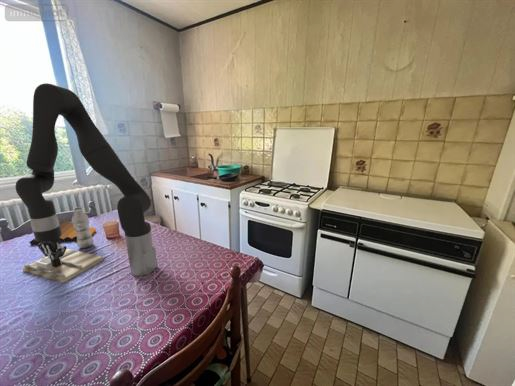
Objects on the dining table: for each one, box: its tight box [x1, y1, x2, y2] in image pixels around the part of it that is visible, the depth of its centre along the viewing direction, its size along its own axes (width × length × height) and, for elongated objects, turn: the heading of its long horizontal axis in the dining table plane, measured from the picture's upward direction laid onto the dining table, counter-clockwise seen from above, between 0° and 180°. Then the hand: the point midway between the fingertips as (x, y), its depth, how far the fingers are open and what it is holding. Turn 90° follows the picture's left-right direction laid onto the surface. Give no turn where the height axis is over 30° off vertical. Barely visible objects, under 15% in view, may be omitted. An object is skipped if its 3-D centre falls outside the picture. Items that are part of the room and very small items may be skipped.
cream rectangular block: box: [35, 256, 62, 270], centre depth 90 cm, size 6×5×3 cm
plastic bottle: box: [71, 207, 95, 249], centre depth 106 cm, size 6×7×20 cm
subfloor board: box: [21, 248, 104, 284], centre depth 94 cm, size 23×16×3 cm
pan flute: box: [29, 219, 97, 246], centre depth 123 cm, size 25×3×25 cm
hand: (56, 266), depth 89 cm, fingers closed
